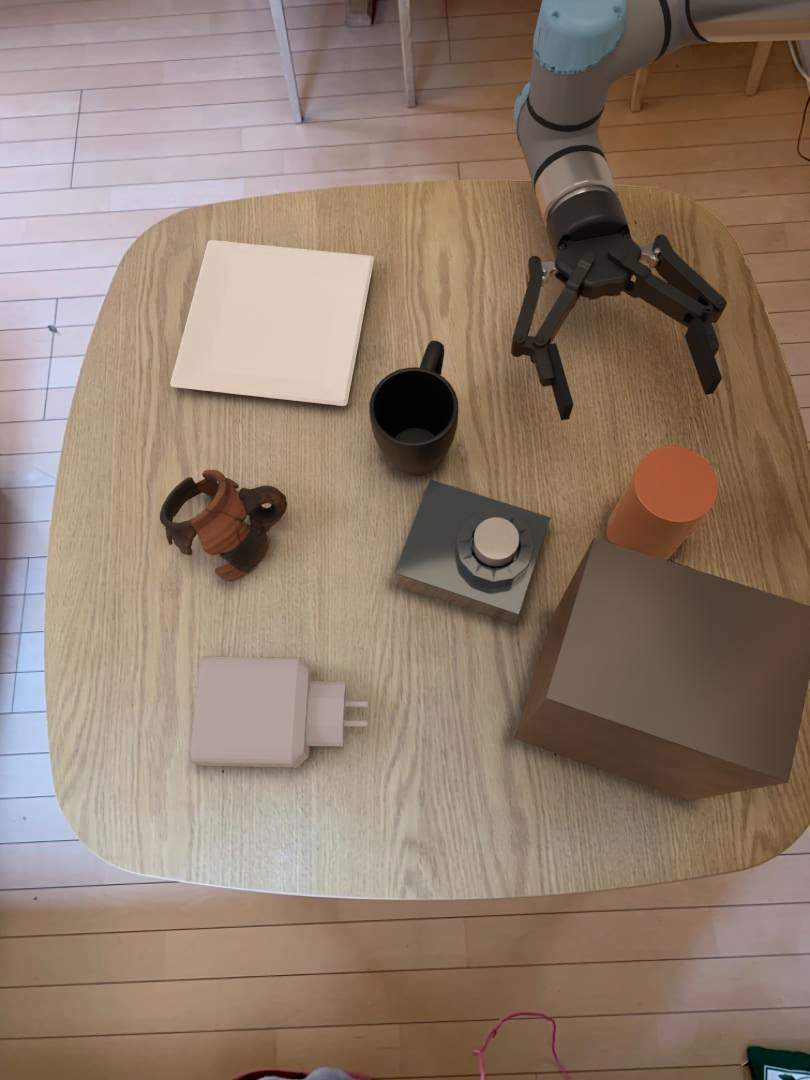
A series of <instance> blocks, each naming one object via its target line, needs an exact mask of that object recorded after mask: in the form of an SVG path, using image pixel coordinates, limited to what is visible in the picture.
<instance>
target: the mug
mask: <svg viewBox="0 0 810 1080" xmlns="http://www.w3.org/2000/svg"><path fill="white" fill-rule="evenodd" d="M444 359H445V345H444V344H443V343H442V342H440V341H439V340H431V341H429V343H428V344H427V346H426V348H425V351H424V353H423V355H422V359H421V362H420V365H419V367H418V366H416V367H405V368H401V369H397V370H395V371H392V372H390V373H389V374H387V375H386V376H384V377H383V378H382V379H381V380H380V381H379V382H378V383H377V384H376V386H375V387H374V390H373V391H372V393H371V396H370V399H369V404H368V412H369V420H370V425H371V426H370V427H371V430H372V435H373V438H374V440H375V443H376V444H377V446H378V448H379V450H380V452H381V453H382V454H383V456H384V457H385V458H386V459H387V461H388V462H390V464H391V465H392V466H393V467H394V468H395V469H396V470H397V471H398V472H400V473H402V474H405V475H406V476H412V477H413V476H424V475H426V474H428V473H430V472H432V471H434V469H436V468H437V466H438V465H440V463H441V461H443V459H444V457H446V455H447V454H448V452H449V450H450V447H451V446H452V445H453V442H454V440H455V437H456V433H457V428H458V423H459V422H458V421H459V399H458V395H457V392H456V390H455V389H454V387H453V386H452V384H451V383H450V382H449V381H448V380H447V379H446V378H445V377H444V376H442V371H443V366H444V365H443V364H444Z"/></svg>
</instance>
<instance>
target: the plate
mask: <svg viewBox="0 0 810 1080" xmlns="http://www.w3.org/2000/svg"><path fill="white" fill-rule="evenodd" d="M374 261H375V257H374V256H373V255H370V254H358V253H349V252H348V253H347V252H338V251H330V250H329V251H328V250H317V249H307V248H297V247H287V246H278V245H266V244H256V243H247V242H237V241H225V240H216V239H209V240H208V241H207V243H206V246H205V251H204V253H203V258H202V261H201V266H200V269H199V273H198V277H197V281H196V284H195V289H194V292H193V297H192V300H191V304H190V307H189V310H188V314H187V318H186V322H185V325H184V330H183V334H182V337H181V340H180V345H179V348H178V352H177V355H176V360H175V364H174V367H173V371H172V374H171V378H170V383H169V385H170V387H171V388H178V389H189V390H197V391H206V392H215V393H223V394H232V395H240V396H250V397H259V398H269V399H278V400H287V401H295V402H303V403H304V402H305V403H314V404H323V405H330V406H331V405H332V406H341V407H345V406H346V405H348V402H349V396H350V391H351V386H352V380H353V374H354V370H355V365H356V359H357V353H358V348H359V342H360V338H361V332H362V326H363V321H364V316H365V310H366V304H367V299H368V293H369V288H370V284H371V277H372V273H373V267H374V263H375V262H374Z"/></svg>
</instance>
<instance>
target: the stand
mask: <svg viewBox="0 0 810 1080" xmlns="http://www.w3.org/2000/svg"><path fill="white" fill-rule="evenodd" d="M546 630H547V631H546V634H545V637H544V640H543V644H542V647H541V650H540V653H539V657H538V659H537V663H536V666H535V670H534V673H533V676H532V679H531V682H530V686H529V689H528V692H527V695H526V699H525V701H524V705H523V708H522V712H521V715H520V718H519V721H518V724H517V728H516V731H515V733H514V737H513V738H514V740H517V741H520V742H523V743H525V744H528V745H531V746H534V747H537V748H540V749H542V750H545V751H547V752H551V753H553V754H557V755H560V756H563V757H565V758H567V759H570V760H573V761H575V762H580V763H582V764H585V765H588V766H591V767H593V768H596V769H598V770H602V771H603V772H604V771H605V772H608V773H609V774H612V775H616V776H619V777H620V778H624V779H627V780H630V781H632V782H635V783H638V784H641V785H644V786H647V787H649V788H652V789H655V790H658V791H661V792H663V793H667V794H669V795H672V796H675V797H677V798H680V799H682V800H686V801H688V802H689V801H694V800H695V801H696V800H700V799H704V798H712V797H716V796H723V795H729V794H732V793H733V794H734V793H738V792H745V791H750V790H755V789H761V788H767V787H773V786H779V785H783V784H784V785H785V784H787V783H789V782H790V776H791V771H792V768H793V767H792V766H793V762H794V758H795V757H794V756H795V753H796V752H795V751H796V747H797V742H798V737H799V732H800V727H801V723H802V719H803V718H802V717H803V714H804V713H803V712H804V706H805V703H806V698H807V692H808V687H809V683H810V605H809V604H805V603H802V602H799V601H796V600H793V599H790V598H786V597H784V596H780V595H777V594H774V593H772V592H768V591H764V590H762V589H759V588H755V587H752V586H749V585H746V584H742V583H740V582H736V581H733V580H730V579H727V578H724V577H721V576H718V575H714V574H711V573H708V572H705V571H702V570H699V569H696V568H692V567H689V566H687V565H683V564H681V563H677V562H674V561H671V560H664V559H661V558H658V557H655V556H652V555H648V554H645V553H642V552H639V551H636V550H633V549H630V548H626V547H623V546H620V545H617V544H614V543H611V542H609V541H608V540H605V539H602V538H598V537H595V536H594V537H592V540H591V542H590V543H589V545H588V548H587V550H586V551H585V553H584V555H583V557H582V558H581V561H580V563H579V564H578V566H577V568H576V570H575V572H574V574H573V576H572V578H571V580H570V582H569V583H568V585H567V587H566V589H565V591H564V592H563V595H562V597H561V598H560V600H559V602H558V604H557V606H556V608H555V610H554V612H553V613H552V615H551V618H550V621H549V624H548V627H547V629H546Z"/></svg>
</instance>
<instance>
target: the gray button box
mask: <svg viewBox="0 0 810 1080" xmlns="http://www.w3.org/2000/svg"><path fill="white" fill-rule="evenodd" d="M494 517H498V518H503V519H506V520H508V521H510V522H511V523H512V524H513V525H514V526H515V527H516V529H517V531H518V534H519V544H518V548H517V551H516V554H515V556H514V558H513V559H512V560H511V561H510V562H509V563H507V564H505V565H503V566H497V567H494V566H489V565H486V564H484V563H482V562H481V561H480V560H479V559H478V558H477V557H476V555H475V553H474V550H473V540H474V533H475V530H476V528H477V527H478V525H479V524H480V523H481V522H483V521H484V520H486V519H489V518H494ZM550 521H551V517H550V516H547V515H545V514H541V513H538V512H535V511H532V510H528V509H525V508H522V507H519V506H517V505H513V504H509V503H506V502H504V501H501V500H497V499H494V498H490V497H489V496H484V495H483V494H482V495H481V494H478V493H475V492H471V491H469V490H466V489H463V488H460V487H456V486H453V485H450V484H447V483H443V482H440V481H437V480H435V479H431V478H430V479H429V480H428V483H427V485H426V487H425V491H424V493H423V496H422V498H421V501H420V504H419V506H418V510H417V512H416V515H415V516H414V520H413V522H412V524H411V528H410V530H409V533H408V536H407V538H406V540H405V544H404V546H403V548H402V551H401V554H400V556H399V558H398V562H397V564H396V567H395V570H394V572H393V574H394V581H395V586H396V587H400V588H403V589H405V590H407V591H411V592H413V593H418V594H420V595H422V596H426V597H429V598H432V599H435V600H437V601H441V602H443V603H447V604H449V605H452V606H456V607H459V608H462V609H464V610H467V611H470V612H474V613H476V614H480V615H482V616H486V617H488V618H491V619H495V620H497V621H501V622H503V623H506V624H509V625H512V626H516V624H517V621H518V619H519V617H520V614H521V610H522V608H523V604H524V601H525V599H526V596H527V592H528V589H529V586H530V583H531V581H532V576H533V573H534V571H535V568H536V565H537V561H538V558H539V555H540V552H541V549H542V545H543V544H544V540H545V537H546V534H547V530H548V527H549V524H550Z"/></svg>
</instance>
